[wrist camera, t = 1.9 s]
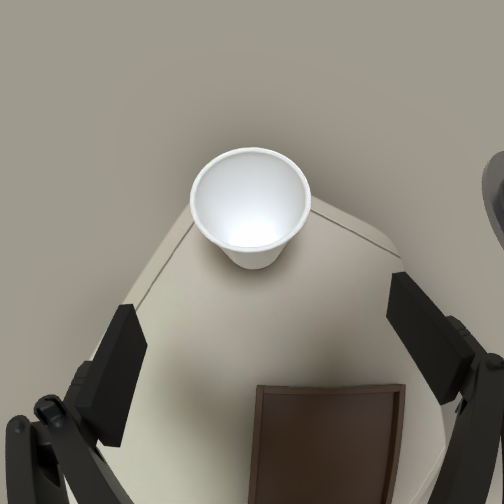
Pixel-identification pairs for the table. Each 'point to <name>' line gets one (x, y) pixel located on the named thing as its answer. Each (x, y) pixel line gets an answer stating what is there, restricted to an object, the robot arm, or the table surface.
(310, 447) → the square brown tray
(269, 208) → the cup
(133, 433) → the table surface
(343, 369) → the table surface
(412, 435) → the table surface
